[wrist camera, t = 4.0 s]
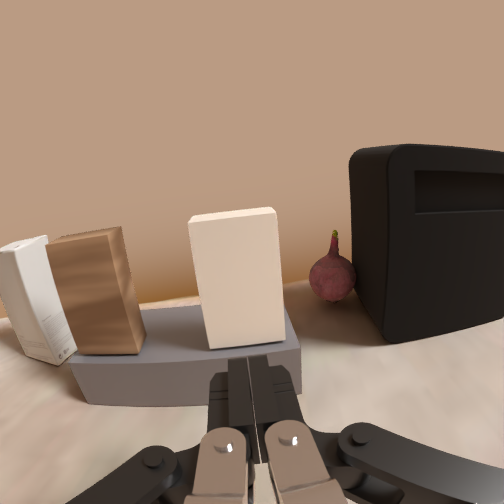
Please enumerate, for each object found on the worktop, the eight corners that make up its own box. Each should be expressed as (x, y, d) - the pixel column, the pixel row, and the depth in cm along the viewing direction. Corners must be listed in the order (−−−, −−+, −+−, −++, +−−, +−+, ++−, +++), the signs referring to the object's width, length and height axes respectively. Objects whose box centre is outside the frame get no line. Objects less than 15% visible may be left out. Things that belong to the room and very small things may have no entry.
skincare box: (85, 344, 33) (52, 233, 29) (57, 369, 28) (14, 248, 24) (48, 336, 35) (17, 238, 31) (22, 356, 30) (-15, 251, 25)
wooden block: (285, 339, 23) (276, 212, 20) (209, 348, 23) (187, 223, 20) (279, 321, 26) (270, 206, 23) (211, 329, 26) (192, 215, 23)
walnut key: (138, 353, 23) (107, 234, 20) (79, 354, 22) (44, 245, 19) (146, 334, 25) (121, 226, 23) (91, 337, 25) (62, 236, 22)
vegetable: (355, 315, 35) (357, 236, 32) (306, 314, 37) (303, 237, 34) (355, 294, 41) (355, 224, 38) (312, 294, 43) (310, 225, 40)
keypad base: (301, 393, 24) (300, 347, 22) (88, 403, 23) (68, 362, 21) (283, 334, 33) (280, 295, 32) (116, 349, 32) (104, 312, 31)
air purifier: (458, 276, 41) (463, 152, 35) (511, 315, 27) (528, 155, 21) (347, 291, 42) (343, 148, 36) (379, 347, 28) (384, 142, 22)
